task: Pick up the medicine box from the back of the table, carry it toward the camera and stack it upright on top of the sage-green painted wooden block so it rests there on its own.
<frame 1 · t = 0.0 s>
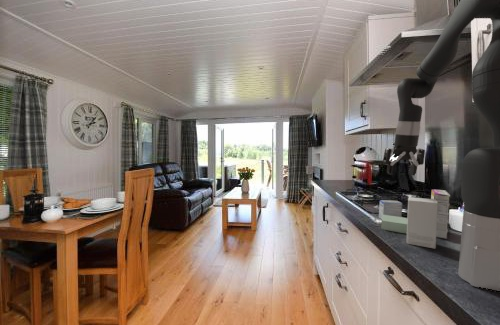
hand: (400, 174, 94), 22 cm above the worktop, tool pointing down, fingers open, 8 cm apart
sage block: (395, 228, 98), on the worktop
candy bar box: (437, 234, 92), on the worktop
medicine box: (389, 220, 108), on the worktop
skincare box: (419, 244, 82), on the worktop
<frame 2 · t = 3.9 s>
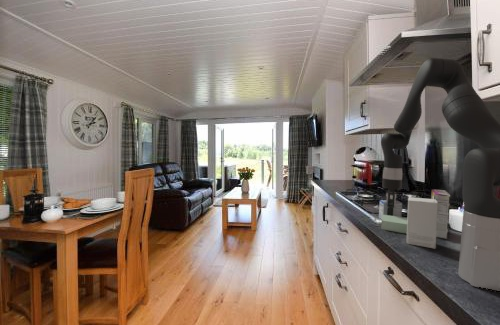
hand: (389, 214, 108), 3 cm above the worktop, tool pointing down, fingers closed on medicine box, 6 cm apart
medicine box: (389, 220, 108), on the worktop, touching gripper
everything else where it was.
when the fingers open (8 cm above the worktop, at t = 9.8 s): medicine box drops 2 cm, resting on sage block.
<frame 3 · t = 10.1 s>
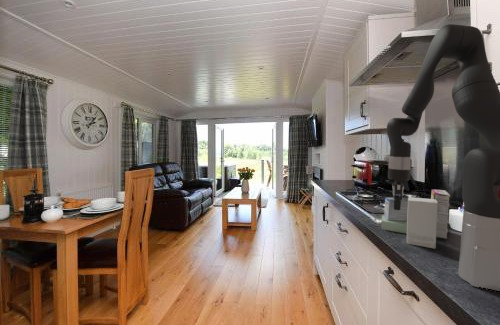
hand: (396, 207, 97), 9 cm above the worktop, tool pointing down, fingers open, 8 cm apart
sage block: (395, 229, 98), on the worktop, touching medicine box
medicine box: (396, 220, 98), point 3 cm above the worktop, touching sage block
everything else where it was.
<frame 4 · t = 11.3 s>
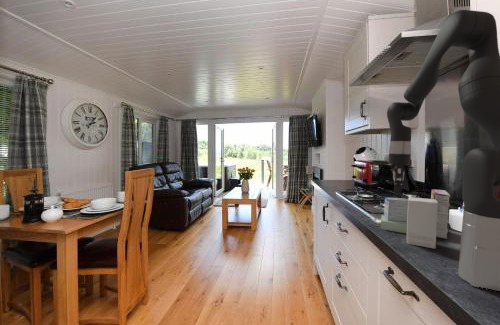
hand: (397, 192, 97), 15 cm above the worktop, tool pointing down, fingers open, 8 cm apart
nothing on the worktop moved.
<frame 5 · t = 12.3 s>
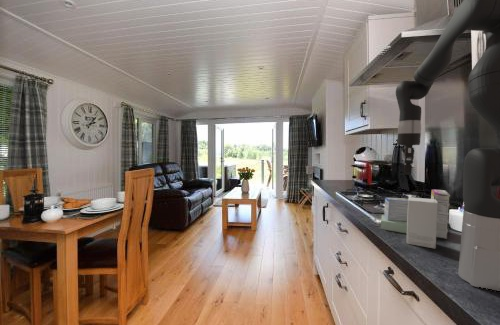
hand: (406, 173, 94), 23 cm above the worktop, tool pointing down, fingers open, 8 cm apart
nothing on the worktop moved.
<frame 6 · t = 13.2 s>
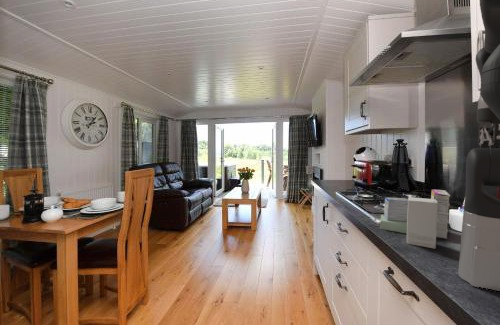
hand: (489, 156, 79), 30 cm above the worktop, tool pointing down, fingers open, 8 cm apart
sage block: (394, 229, 98), on the worktop
medicine box: (395, 220, 98), point 3 cm above the worktop
everything else where it was.
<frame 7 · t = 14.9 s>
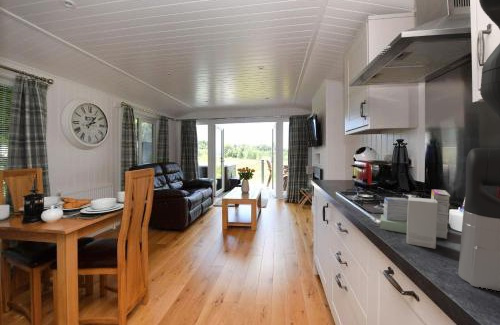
sage block: (394, 228, 98), on the worktop, touching medicine box
medicine box: (395, 219, 98), point 3 cm above the worktop, touching sage block
everything else where it was.
at the end: medicine box inside the target area on the sage block (0.4 cm from its centre), point 3.8 cm above the sage block's base; medicine box tilted 1°; medicine box touching sage block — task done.
